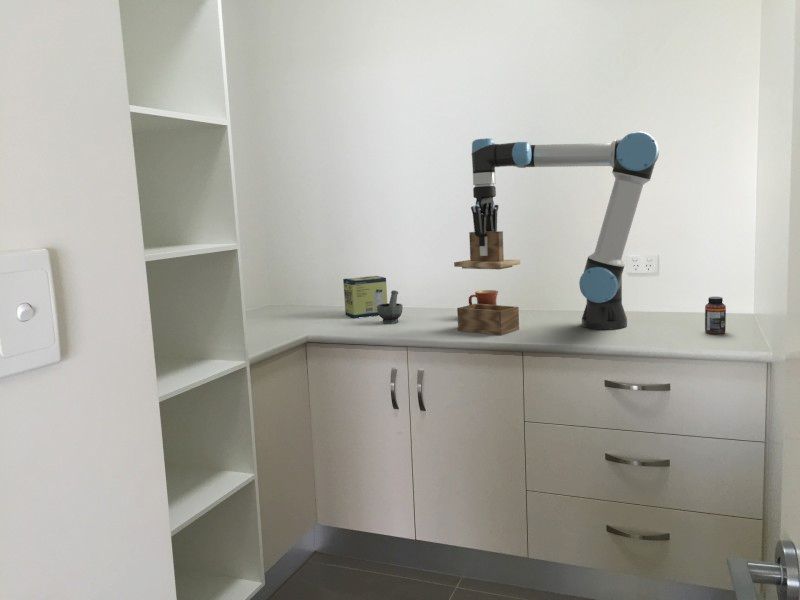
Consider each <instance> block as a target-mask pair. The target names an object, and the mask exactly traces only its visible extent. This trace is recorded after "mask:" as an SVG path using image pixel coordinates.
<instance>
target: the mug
mask: <svg viewBox="0 0 800 600" xmlns="http://www.w3.org/2000/svg"><path fill="white" fill-rule="evenodd" d="M498 293H499V291H498V290H495V289H492V290H491V289H485V290H477V291H475V292H474V294H470V295H469V297H468V305H472V304H473V302H472V300H473V298H476V304H487V305H498V304H497V298H498Z"/></svg>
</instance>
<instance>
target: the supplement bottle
mask: <svg viewBox="0 0 800 600" xmlns="http://www.w3.org/2000/svg"><path fill="white" fill-rule="evenodd" d="M707 301H708V303H706V305H704V306H705V307H704V332H705V333H706V334H710V335H722V334H725V333H726V329H727V328H726V327H727V326H726V325H727V322H726V321H727V319H726V317H727V314H726V313H727V308H726V307H727V306H726V304H724V301H723V297H721V296H709V297H708V300H707Z"/></svg>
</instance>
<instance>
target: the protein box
mask: <svg viewBox="0 0 800 600" xmlns="http://www.w3.org/2000/svg"><path fill="white" fill-rule="evenodd" d="M342 281H343V294H344V295H343V296H344V313H345V316H346V315H347V317H349V316H350V318H352V319H360V318H359V317H363V318H370V317H369V316H371V317H378V315H379V314H378V311H377V305H380V304H387V303H388V291H387V289H388V288H387V278H386V277H384V276H379V275H371V276H361V277H353V278H351V277H350V278H349V277H348V278H343V280H342Z"/></svg>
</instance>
